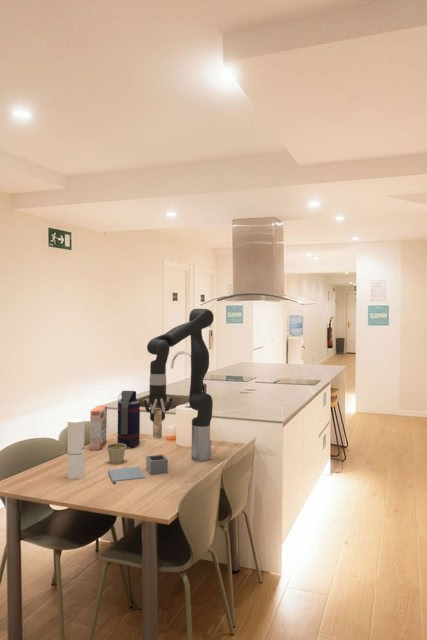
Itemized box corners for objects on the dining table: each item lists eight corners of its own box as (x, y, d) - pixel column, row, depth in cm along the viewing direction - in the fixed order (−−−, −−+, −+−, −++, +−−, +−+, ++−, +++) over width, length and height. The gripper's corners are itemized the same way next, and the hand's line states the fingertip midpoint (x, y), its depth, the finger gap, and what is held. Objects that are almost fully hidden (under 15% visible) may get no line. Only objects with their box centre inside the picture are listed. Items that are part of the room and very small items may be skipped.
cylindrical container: (87, 474, 214) (87, 419, 214) (77, 479, 208) (78, 422, 207) (73, 472, 217) (74, 417, 216) (63, 477, 210) (64, 421, 209)
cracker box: (100, 450, 250) (101, 411, 250) (89, 450, 250) (89, 410, 250) (107, 442, 264) (107, 405, 264) (96, 442, 264) (96, 405, 264)
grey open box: (162, 469, 223) (163, 454, 223) (167, 474, 215) (167, 459, 215) (146, 471, 220) (146, 456, 220) (150, 477, 212) (150, 461, 212)
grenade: (121, 441, 267) (122, 388, 266) (142, 443, 265) (142, 389, 264) (113, 449, 253) (113, 392, 252) (134, 450, 251) (135, 393, 250)
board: (138, 469, 222) (138, 466, 222) (145, 480, 209) (145, 476, 209) (107, 473, 216) (107, 469, 216) (113, 484, 203) (113, 480, 203)
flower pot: (121, 467, 224) (122, 449, 224) (103, 466, 226) (103, 448, 226) (129, 461, 233) (129, 443, 233) (111, 459, 235) (111, 442, 235)
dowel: (160, 435, 220) (160, 407, 219) (162, 438, 216) (163, 409, 216) (151, 436, 218) (152, 408, 218) (154, 439, 215) (154, 410, 214)
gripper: (170, 381, 223) (170, 417, 223) (140, 382, 217) (140, 420, 218) (175, 383, 216) (174, 421, 216) (144, 385, 210) (144, 423, 211)
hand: (157, 420), depth 217 cm, fingers closed on dowel, 4 cm apart
